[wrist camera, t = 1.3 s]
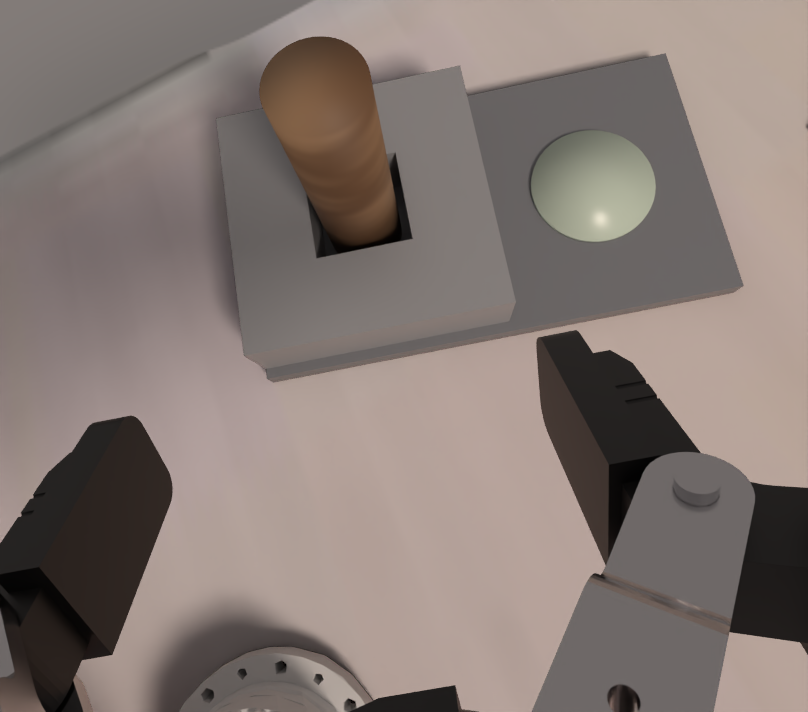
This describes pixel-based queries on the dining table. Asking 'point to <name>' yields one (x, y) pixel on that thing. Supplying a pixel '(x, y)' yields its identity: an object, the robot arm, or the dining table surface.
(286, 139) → the walnut plug
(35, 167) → the dining table surface
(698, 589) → the robot arm
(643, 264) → the socket board
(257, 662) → the mechanical component
